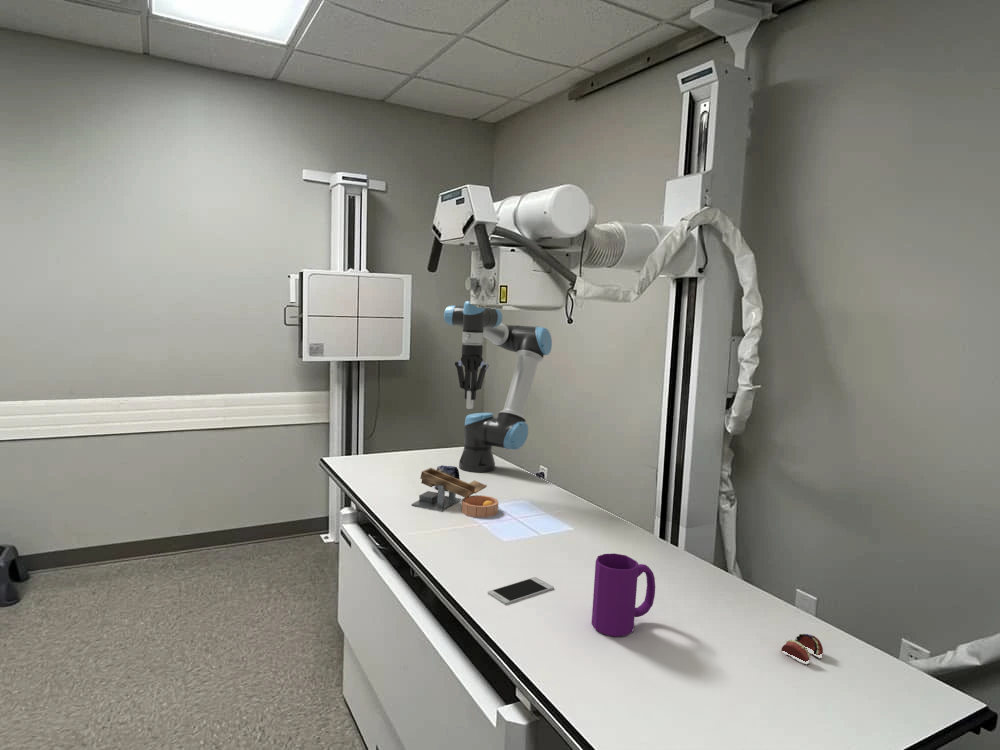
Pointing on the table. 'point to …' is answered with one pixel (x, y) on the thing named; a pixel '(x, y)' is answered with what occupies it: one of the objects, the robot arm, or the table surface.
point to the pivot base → (437, 500)
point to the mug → (619, 594)
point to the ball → (487, 503)
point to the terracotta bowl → (479, 506)
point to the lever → (450, 483)
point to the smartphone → (520, 590)
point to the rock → (449, 471)
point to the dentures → (798, 645)
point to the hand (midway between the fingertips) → (469, 408)
